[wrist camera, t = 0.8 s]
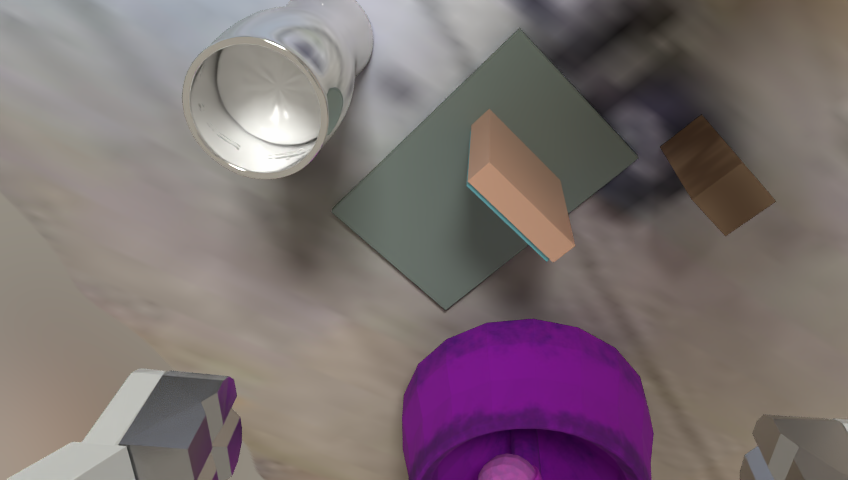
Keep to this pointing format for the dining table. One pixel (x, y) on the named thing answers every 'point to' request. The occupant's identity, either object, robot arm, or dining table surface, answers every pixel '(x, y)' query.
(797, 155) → the dining table surface
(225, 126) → the beer glass
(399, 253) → the mat
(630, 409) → the decorative plant
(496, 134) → the tile
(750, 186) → the walnut block
